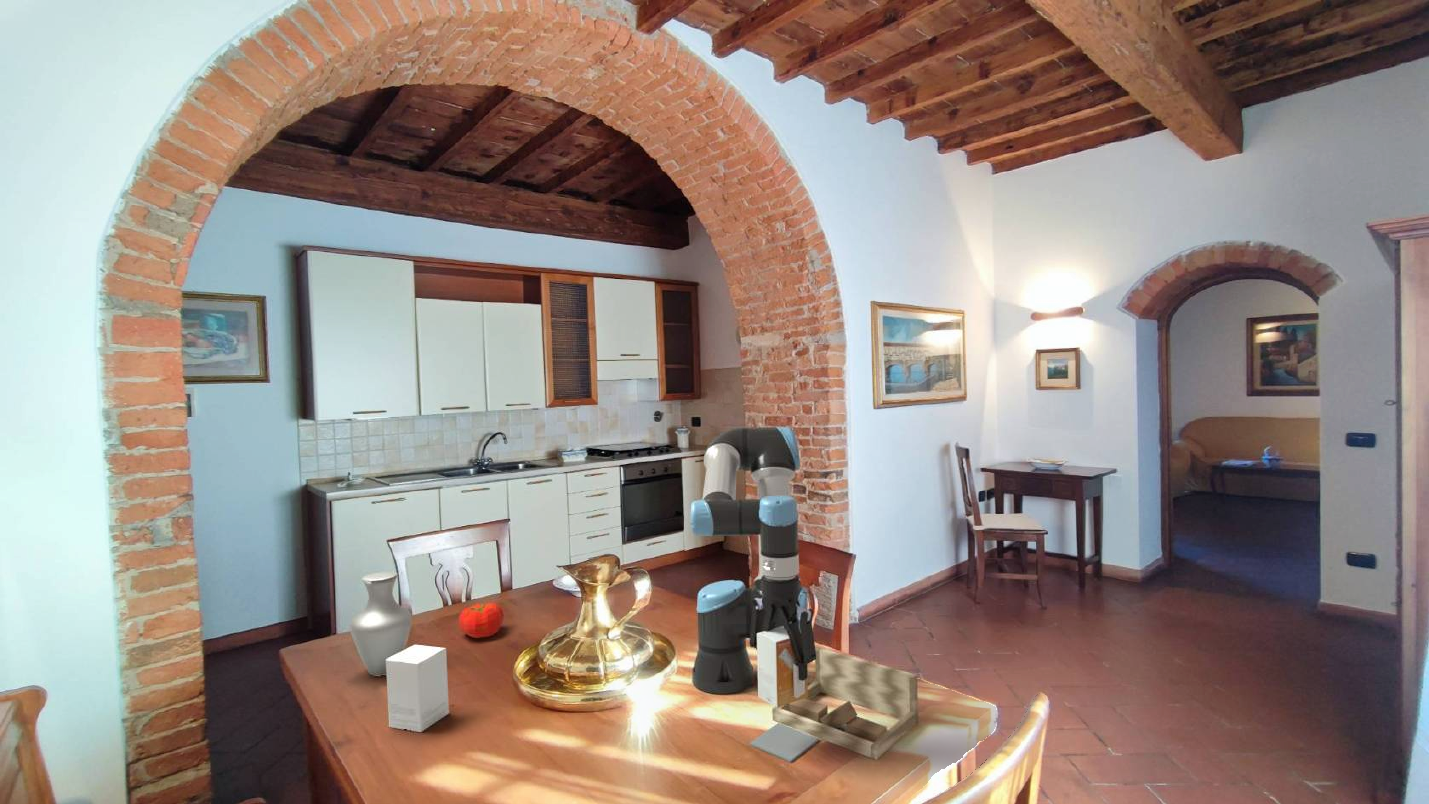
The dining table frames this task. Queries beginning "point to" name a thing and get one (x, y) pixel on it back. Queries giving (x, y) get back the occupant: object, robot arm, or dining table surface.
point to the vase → (380, 624)
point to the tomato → (481, 620)
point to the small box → (776, 668)
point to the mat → (784, 742)
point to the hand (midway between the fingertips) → (782, 689)
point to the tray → (858, 699)
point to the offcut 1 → (809, 709)
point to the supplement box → (417, 687)
